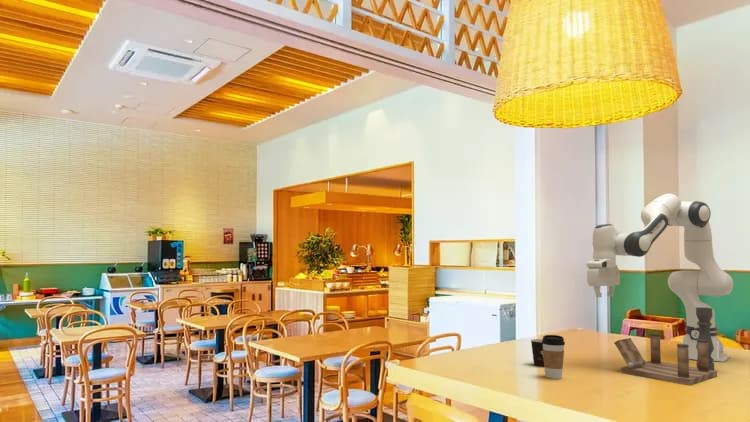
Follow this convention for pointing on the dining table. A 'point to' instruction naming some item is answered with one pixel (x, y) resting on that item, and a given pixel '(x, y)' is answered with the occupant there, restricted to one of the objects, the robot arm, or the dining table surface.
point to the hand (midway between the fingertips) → (604, 296)
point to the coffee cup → (553, 355)
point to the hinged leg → (630, 353)
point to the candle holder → (705, 331)
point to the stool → (675, 365)
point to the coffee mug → (537, 352)
